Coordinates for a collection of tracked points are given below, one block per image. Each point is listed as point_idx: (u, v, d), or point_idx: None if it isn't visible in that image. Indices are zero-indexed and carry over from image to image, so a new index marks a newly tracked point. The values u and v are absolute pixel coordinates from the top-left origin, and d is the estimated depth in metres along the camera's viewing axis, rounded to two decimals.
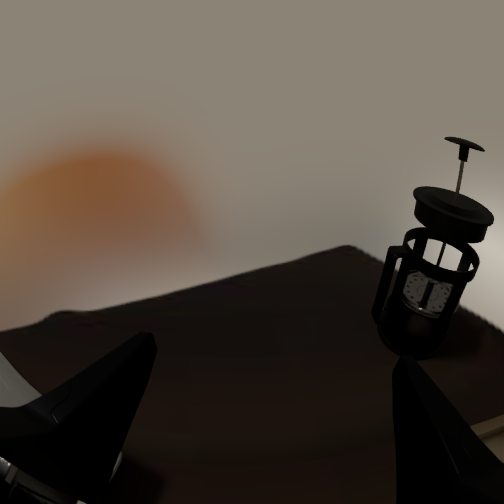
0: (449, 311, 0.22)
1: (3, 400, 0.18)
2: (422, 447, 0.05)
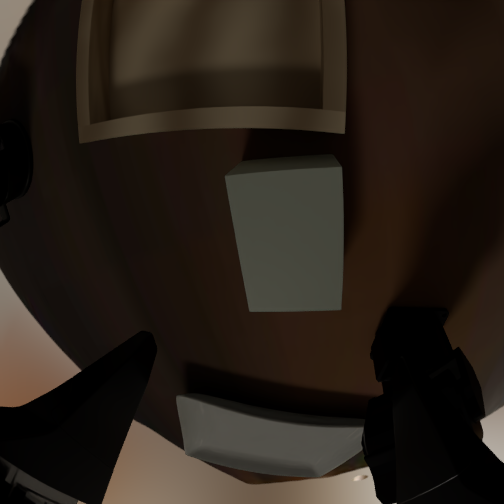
0: None
1: (212, 440, 0.40)
2: (422, 447, 0.05)
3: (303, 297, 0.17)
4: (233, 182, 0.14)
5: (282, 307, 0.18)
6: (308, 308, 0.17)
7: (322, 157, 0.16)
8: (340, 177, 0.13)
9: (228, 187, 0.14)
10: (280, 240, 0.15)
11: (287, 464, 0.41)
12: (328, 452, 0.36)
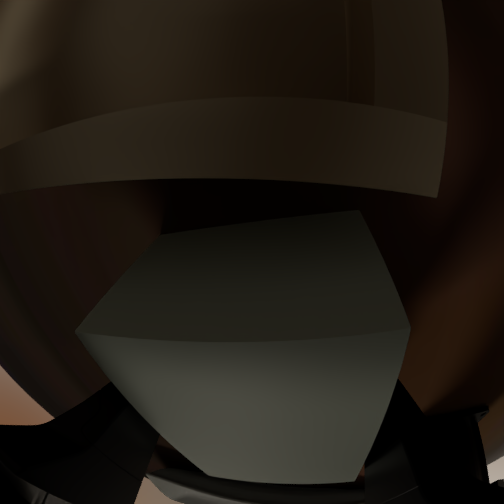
0: None
1: (198, 492, 0.30)
2: (386, 452, 0.05)
3: (291, 477, 0.07)
4: (96, 347, 0.05)
5: (258, 480, 0.08)
6: (300, 483, 0.08)
7: (337, 234, 0.06)
8: (399, 354, 0.03)
9: (92, 354, 0.05)
10: (234, 440, 0.06)
11: None
12: None
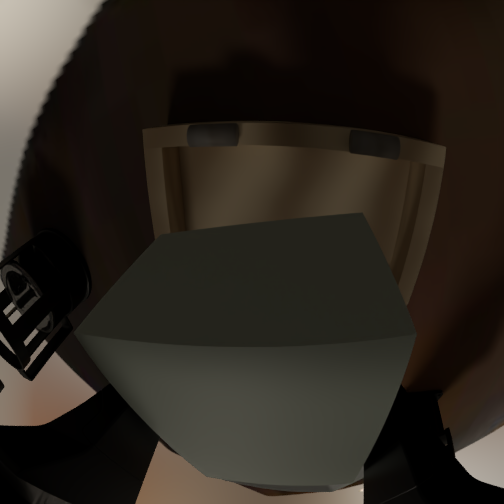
0: (40, 308, 0.18)
1: None
2: (385, 452, 0.05)
3: (289, 480, 0.07)
4: (95, 349, 0.05)
5: (256, 482, 0.08)
6: (299, 484, 0.08)
7: (341, 237, 0.06)
8: (403, 360, 0.03)
9: (91, 355, 0.05)
10: (234, 443, 0.06)
11: None
12: None
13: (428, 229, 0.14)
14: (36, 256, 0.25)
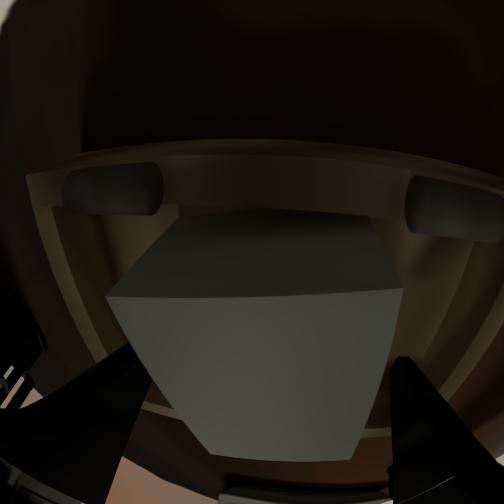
0: None
1: (241, 499, 0.38)
2: (419, 448, 0.05)
3: (291, 453, 0.08)
4: (125, 311, 0.06)
5: (258, 457, 0.09)
6: (299, 460, 0.09)
7: (340, 219, 0.07)
8: (394, 312, 0.04)
9: (119, 318, 0.06)
10: (243, 406, 0.07)
11: None
12: None
13: (494, 331, 0.07)
14: None
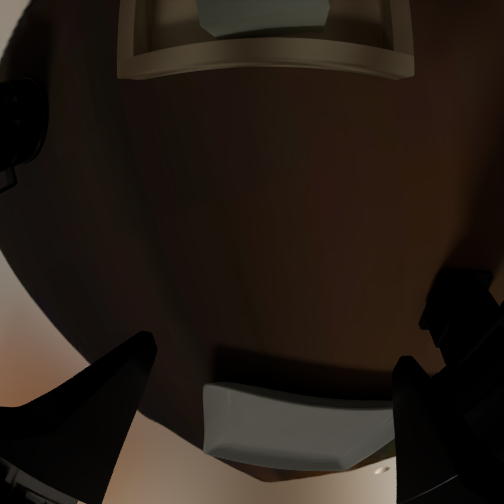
0: None
1: (235, 436, 0.37)
2: (422, 447, 0.05)
3: None
4: None
5: (245, 9, 0.09)
6: (282, 6, 0.08)
7: None
8: None
9: None
10: None
11: (313, 458, 0.38)
12: (358, 442, 0.33)
13: None
14: None
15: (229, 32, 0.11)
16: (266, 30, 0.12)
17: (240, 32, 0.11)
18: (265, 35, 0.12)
